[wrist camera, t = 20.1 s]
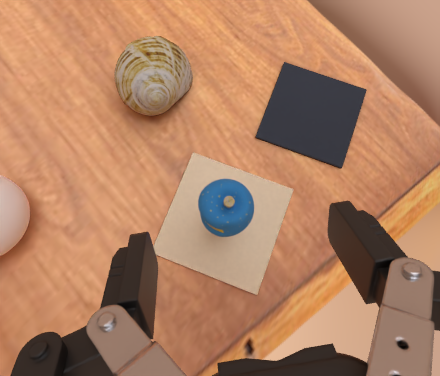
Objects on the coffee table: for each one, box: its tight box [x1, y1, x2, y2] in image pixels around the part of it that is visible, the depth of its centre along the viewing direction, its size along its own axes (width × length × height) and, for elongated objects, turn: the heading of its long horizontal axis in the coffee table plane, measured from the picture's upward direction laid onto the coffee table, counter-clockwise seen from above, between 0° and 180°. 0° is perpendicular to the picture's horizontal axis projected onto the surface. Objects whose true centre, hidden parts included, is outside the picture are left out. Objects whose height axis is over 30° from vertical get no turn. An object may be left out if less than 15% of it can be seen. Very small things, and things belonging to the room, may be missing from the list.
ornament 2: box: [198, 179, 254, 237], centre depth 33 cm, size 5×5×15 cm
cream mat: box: [153, 152, 293, 295], centre depth 41 cm, size 14×14×1 cm
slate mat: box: [256, 62, 366, 168], centre depth 44 cm, size 12×12×1 cm
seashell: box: [115, 36, 193, 116], centre depth 42 cm, size 10×10×10 cm
